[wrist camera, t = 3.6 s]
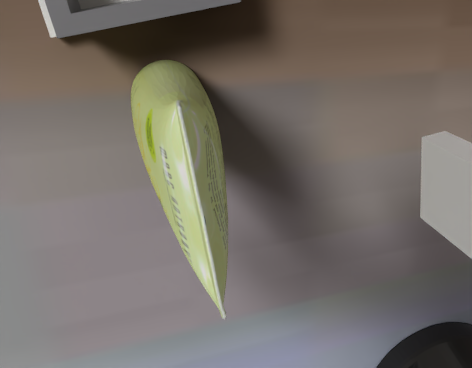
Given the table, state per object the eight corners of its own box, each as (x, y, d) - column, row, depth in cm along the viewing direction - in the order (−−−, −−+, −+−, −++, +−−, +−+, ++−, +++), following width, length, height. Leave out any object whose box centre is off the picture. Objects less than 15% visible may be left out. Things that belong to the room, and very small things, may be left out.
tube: (107, 96, 30) (74, 244, 13) (151, 35, 29) (180, 104, 12) (174, 143, 33) (224, 321, 15) (217, 87, 32) (323, 210, 14)
